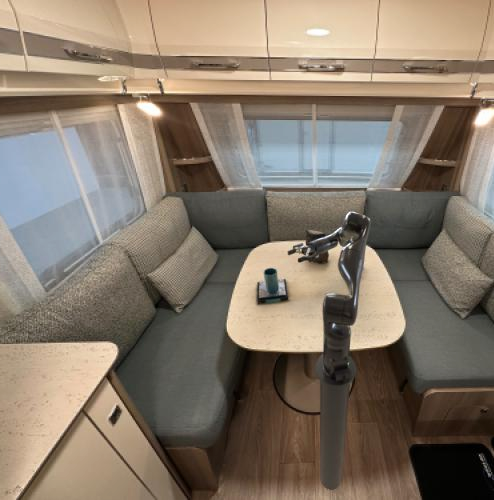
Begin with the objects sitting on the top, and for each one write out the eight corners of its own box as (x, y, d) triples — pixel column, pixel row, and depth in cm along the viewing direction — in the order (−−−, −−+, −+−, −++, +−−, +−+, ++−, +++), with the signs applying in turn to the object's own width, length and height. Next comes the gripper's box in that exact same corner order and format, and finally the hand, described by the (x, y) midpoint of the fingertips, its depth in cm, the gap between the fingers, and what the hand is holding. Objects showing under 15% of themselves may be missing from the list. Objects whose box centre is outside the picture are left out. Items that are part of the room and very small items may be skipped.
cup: (279, 290, 134) (277, 274, 129) (265, 292, 133) (263, 276, 128) (278, 283, 140) (276, 267, 135) (265, 284, 139) (263, 268, 134)
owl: (329, 263, 162) (330, 234, 151) (309, 266, 159) (308, 236, 149) (323, 252, 172) (324, 224, 162) (304, 255, 169) (303, 227, 159)
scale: (288, 301, 133) (288, 296, 131) (257, 305, 130) (257, 300, 129) (285, 282, 146) (285, 277, 144) (257, 285, 143) (257, 280, 142)
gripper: (310, 234, 137) (284, 244, 129) (328, 245, 128) (301, 256, 119) (311, 247, 141) (285, 257, 132) (328, 258, 131) (302, 270, 123)
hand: (293, 257), depth 126 cm, fingers open, 8 cm apart
